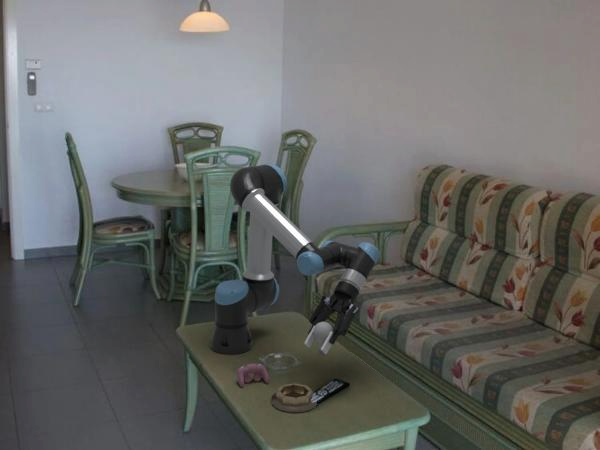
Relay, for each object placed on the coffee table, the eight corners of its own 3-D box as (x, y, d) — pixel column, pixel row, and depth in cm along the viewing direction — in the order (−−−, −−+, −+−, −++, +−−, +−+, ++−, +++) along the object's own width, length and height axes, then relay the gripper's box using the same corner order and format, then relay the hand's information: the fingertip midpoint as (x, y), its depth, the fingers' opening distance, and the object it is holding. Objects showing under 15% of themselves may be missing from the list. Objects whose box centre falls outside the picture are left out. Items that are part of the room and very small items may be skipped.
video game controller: (266, 383, 223) (263, 362, 225) (270, 383, 219) (267, 361, 221) (237, 388, 220) (234, 366, 221) (240, 387, 215) (238, 365, 217)
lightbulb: (330, 360, 212) (331, 326, 210) (311, 358, 213) (312, 324, 211) (333, 352, 218) (334, 319, 216) (314, 350, 219) (315, 318, 217)
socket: (263, 396, 211) (263, 386, 210) (304, 388, 217) (304, 377, 217) (283, 416, 199) (284, 405, 198) (326, 407, 205) (326, 396, 204)
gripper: (378, 299, 217) (344, 363, 209) (331, 286, 229) (297, 345, 221) (369, 286, 212) (334, 351, 204) (321, 273, 224) (286, 334, 216)
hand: (315, 348), depth 212 cm, fingers closed on lightbulb, 6 cm apart
